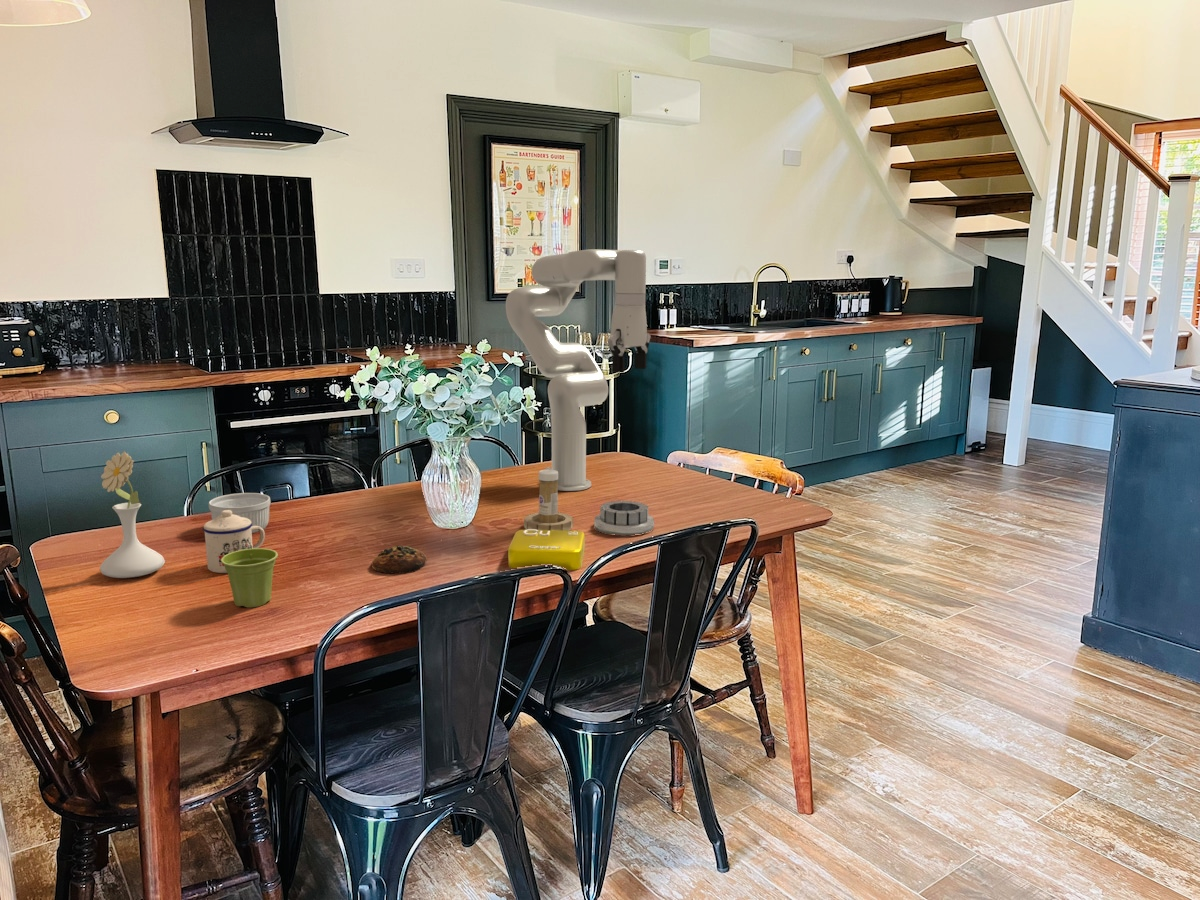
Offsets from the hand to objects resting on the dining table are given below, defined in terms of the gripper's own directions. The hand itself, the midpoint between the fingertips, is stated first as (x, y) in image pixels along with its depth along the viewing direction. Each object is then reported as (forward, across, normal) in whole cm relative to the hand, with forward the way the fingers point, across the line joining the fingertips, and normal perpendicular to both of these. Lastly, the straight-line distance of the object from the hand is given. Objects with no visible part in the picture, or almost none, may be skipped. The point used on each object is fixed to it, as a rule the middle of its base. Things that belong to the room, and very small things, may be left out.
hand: (629, 370), depth 221 cm
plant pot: (+35, +98, -16) cm, 105 cm away
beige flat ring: (+35, +28, -4) cm, 45 cm away
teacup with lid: (+35, +88, -36) cm, 101 cm away
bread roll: (+35, +68, -10) cm, 77 cm away
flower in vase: (+35, +103, -47) cm, 119 cm away
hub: (+35, +18, +11) cm, 41 cm away
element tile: (+36, +46, +11) cm, 59 cm away
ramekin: (+35, +73, -58) cm, 100 cm away
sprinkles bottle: (+35, +28, -4) cm, 45 cm away
